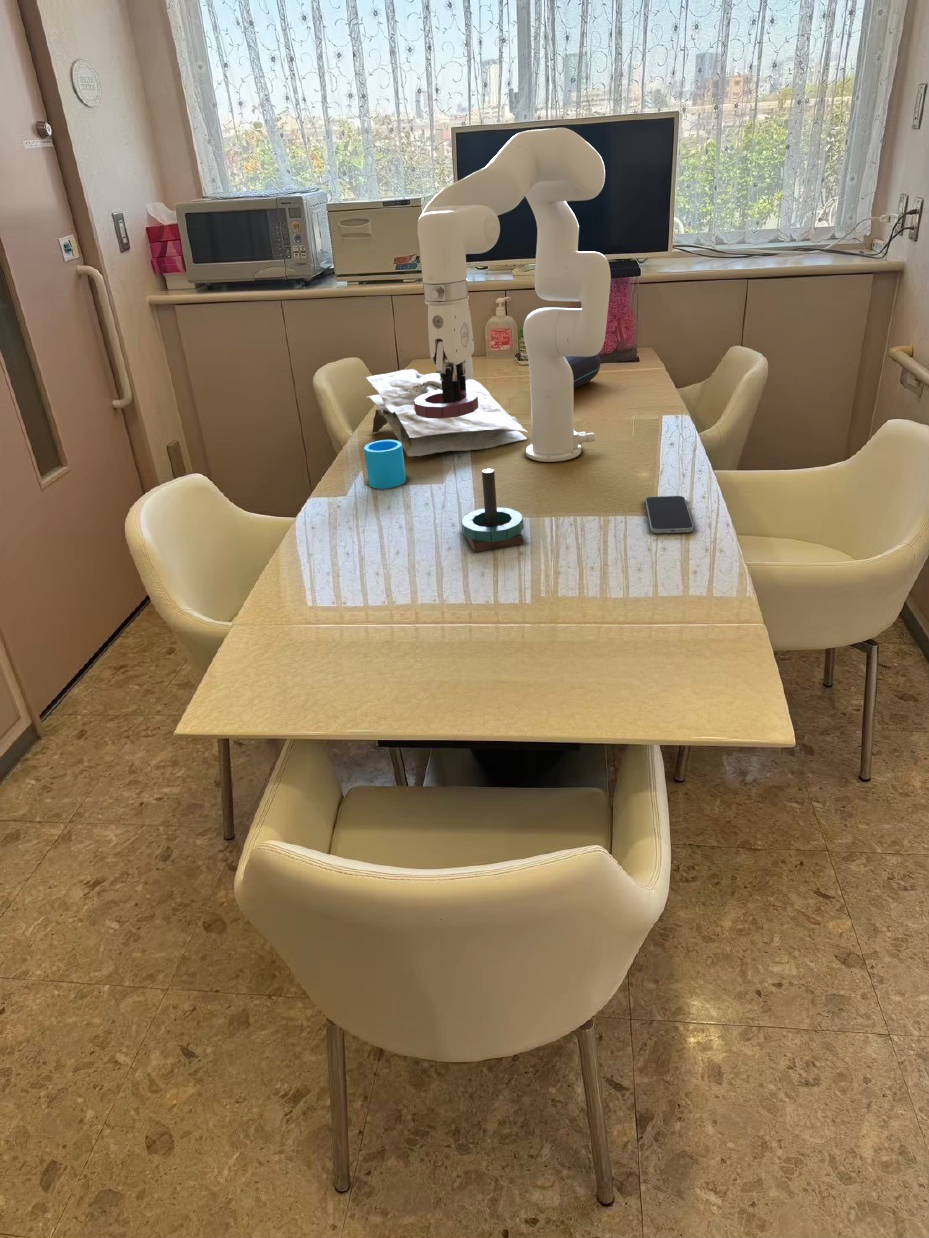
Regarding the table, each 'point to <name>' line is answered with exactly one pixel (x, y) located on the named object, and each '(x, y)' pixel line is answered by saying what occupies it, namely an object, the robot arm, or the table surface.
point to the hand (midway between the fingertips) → (455, 399)
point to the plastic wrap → (434, 433)
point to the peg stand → (492, 516)
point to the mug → (385, 464)
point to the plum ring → (445, 405)
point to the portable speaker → (583, 368)
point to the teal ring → (492, 533)
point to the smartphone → (668, 514)
